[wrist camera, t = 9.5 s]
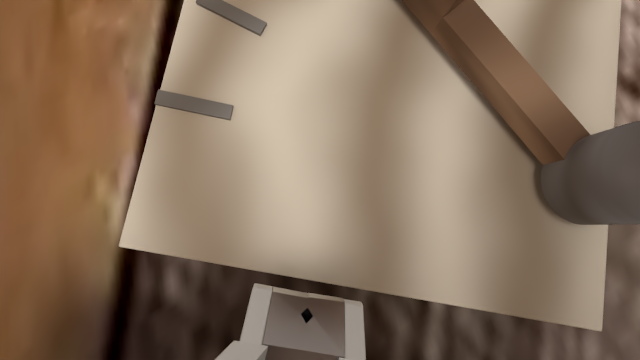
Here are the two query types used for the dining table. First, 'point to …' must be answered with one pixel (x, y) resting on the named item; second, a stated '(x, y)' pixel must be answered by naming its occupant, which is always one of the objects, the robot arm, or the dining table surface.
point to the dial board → (373, 153)
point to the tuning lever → (542, 119)
